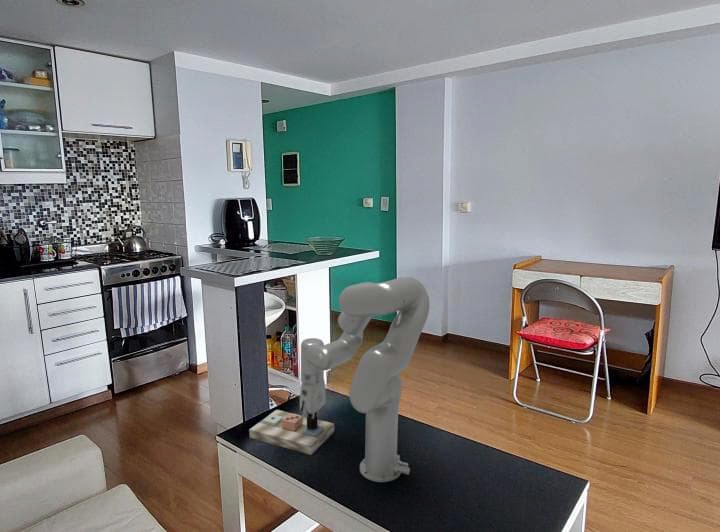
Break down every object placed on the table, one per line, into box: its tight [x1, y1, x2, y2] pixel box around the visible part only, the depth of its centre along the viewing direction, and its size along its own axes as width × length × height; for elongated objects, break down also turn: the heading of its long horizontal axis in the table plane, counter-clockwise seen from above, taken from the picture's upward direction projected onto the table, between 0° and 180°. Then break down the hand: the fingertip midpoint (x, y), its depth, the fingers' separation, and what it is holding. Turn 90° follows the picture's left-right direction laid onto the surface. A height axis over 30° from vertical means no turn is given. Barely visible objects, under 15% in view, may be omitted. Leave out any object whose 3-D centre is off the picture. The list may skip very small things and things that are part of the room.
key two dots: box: [302, 425, 323, 437], centre depth 154 cm, size 5×5×3 cm
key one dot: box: [262, 413, 283, 427], centre depth 161 cm, size 5×5×3 cm
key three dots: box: [282, 413, 303, 431], centre depth 157 cm, size 5×5×3 cm
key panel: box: [248, 409, 335, 456], centre depth 158 cm, size 24×16×3 cm, turn 66°
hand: (312, 427), depth 154 cm, fingers closed
